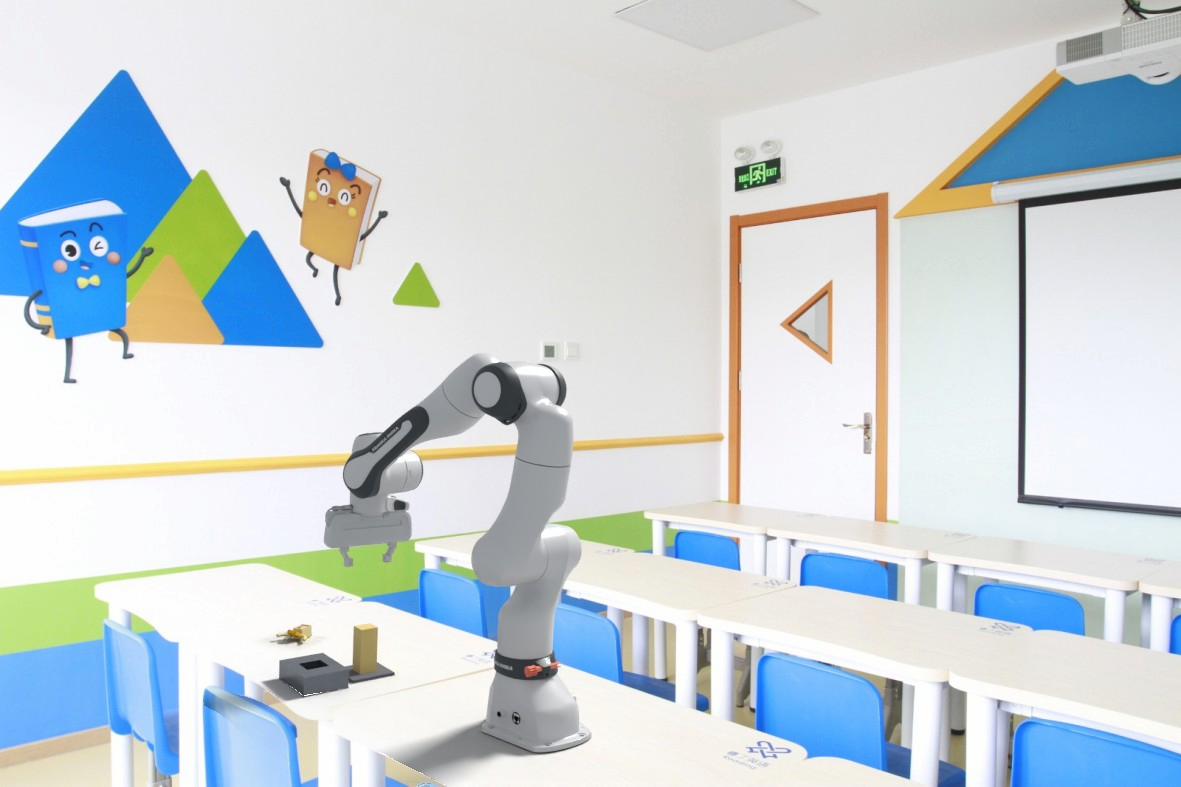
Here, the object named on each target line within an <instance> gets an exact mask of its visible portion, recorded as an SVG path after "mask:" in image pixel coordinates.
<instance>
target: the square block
mask: <svg viewBox="0 0 1181 787" xmlns="http://www.w3.org/2000/svg"><path fill="white" fill-rule="evenodd" d="M378 636H379V627H378V626H376V625H374V624H372V623H370V622H369V623H365V624H356V625H353V636H352V637H353V639H352V665H353V667H352V670H354V671H356V672H357V673H359V674H365V673H370V672H375V671H377V662H378Z"/></svg>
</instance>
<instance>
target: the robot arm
mask: <svg viewBox="0 0 1181 787" xmlns="http://www.w3.org/2000/svg"><path fill="white" fill-rule="evenodd" d="M567 389H568V388H567V383H566V380H565V377H564V375H563V374H562V373H561V372H560V371H559V369H557V368H555V367H553V366H551V365H548V364H544V363H532V362H526V361H507V362H504V361H501V360H499V359H498V358H497V357H496V356H495V355H492V354H490V353H486V352H478V353H475V354H472V355H471V356H469V357H468V358H467V359H465V360H464V361H463V362H461V364H459V365H458V366H456V368H454V369H453V370H452V371H451V373H449V374H448V375H447V377H445V379H444V380H443V381H442V382H441V383H440V384H439V385H438V386H437V387H436V388H435V389H434V390H433V391H432V392H431V393H430V394H428V395H427V396H426V397H425V398H423V400H421V401H420V402H418V403H417V404H415V405H414V406H413V407H411V408H410V409H409V410H407V411H406V412H405V413H403V414H402V415H401V416H400V417H398V418H397V419H396V420H395V421H394V422H393V423H391V425H390V426H388V427H387V429H385V430H384V431H380V432H379V431H377V432H367V433H362V434H359V435H357V436H356V437H355V438H354V440H353V443H352V448H351V454H350V456H348V458H347V460H346V461H345V464H344V467H343V471H342V479H343V482H344V485H345V487H346V488H347V489H348V491H349V504H344V505H332V506H331V507H330V508H329V509H327V510H326V512H325V516H324V518H325V519H324V521H325V522H324V523H325V527H324V535H323V543H324V545H325V547H328V548H330V549H339V550H338V551H339V553H340V555H341V556H342V558H343V567H345V568H348V567H349V568H350V567H353V566H354V558H353V557H350V556H349V554H348V553H349V552H350V547H361V546H363V547H364V546H371V545H373V546H374V545H380V544H382V545H383V544H386V546H387V547H388V548H387V550H386V552H385V553H382V562H383V563H391V562H392V557H393V554H394V553H395V550H396V549H397V546H398V545H397V543H400V542H401V543H402V542H408V541H410V539H411V537H412V535H413V534H412V533H413V525H412V524H413V523H412V516H411V513H410V512H409V510H410V507H411V506H410V501H408V500H405V499H402V498H399V497H397V496H394V495H393V494H399V493H407V492H410V491H414V490H416V489H417V488H418V487H419V485H420V484H421V482H422V481H423V477H424V465H423V462H422V459H421V457H420V456H419V455H418V454H417V452H415V451H414V450H411V449H412V448H413V447H416V446H417V445H419V444H422V443H425V442H429V441H432V440H433V441H434V440H437V439H442V438H447V437H453V436H458V435H461V434H463V433H465V432H466V431H467V430H469V429H471V428H472V427H474V426H475V425H477V423H478V422H479V421H480V420H481V419H482V418H483V417H484V416H485V415H488V416H490V417H492V418H494V419H495V420H497V421H498V422H499V423H501V424H502V425H505V426H509V425H513V424H514V425H515V428H516V429H517V434H518V437H517V445H516V449H515V457H514V463H513V469H512V474H511V478H510V484H509V489H508V491H507V492H508V493H507V495H506V499H505V501H504V503H503V505H502V507H501V510H500V512H499V513H498V515H497V517H496V519H495V521H494V522H493V523H492V525H491V526H490V528H489V529H487V531H486V532H485V533H484V534H483V535H482V536H481V537H480V538H479V539H477V541H476V542H475V543H474V545H473V548H472V551H471V559H470V560H471V562H470V563H471V567H472V570H473V573H474V575H475V577H476V578H477V579H478V580H479V582H481V584H484V585H485V586H487V587H497V588H498V587H500V588H501V587H503V588H504V587H505V588H510V587H514V586H515V587H514V590H513V592H512V594H511V595H510V597H509V598H508V599H507V600H506V601H505V603H504V604H503V605H502V606H501V608H500V610H499V612H498V617H497V642H496V643H497V646H496V649H495V650H494V656H493V663H494V665H493V668H494V670H495V673H494V678H493V680H492V683H491V685H490V687H489V692H488V700H487V708H486V716H485V717H486V718H485V721H484V722H483V723H482V724H481V729H480V731H481V732H482V733H485V734H487V735H488V736H489V735H490V736H493V737H495V738H498V739H500V740H502V741H504V742H507V743H509V744H512V745H514V746H518V747H520V748H522V749H525V750H527V751H530V752H532V753H548V752H549V753H550V752H555V751H556V752H557V751H561V750H564V749H569V748H573V747H575V746H579V745H580V744H583V743H585V742H587V741H588V740H590V739H591V738H592V730H590V728H588V727H587V726H586V725H585V724H583V723H581V722H580V710H579V704H578V702H577V696H576V694H575V693H573V692H572V693H571V692H570V691H569V688H567V686H566V684H565V683H564V682H563V680H562V679H561V677H560V675H559V673H558V672H559V668H561V665H559V664H561V661H557V657H556V653H555V650H554V648H553V646H554V645H553V644H554V630H555V616H556V612H557V611H556V610H557V608H558V607H557V606H558V603H559V599H560V597H561V593H562V591H563V588H564V586H565V583H566V581H567V579H568V578H569V576H570V574H571V573H572V572H573V570H574V569H575V568H576V567H577V566H578V564H579V563H580V561H581V558H582V550H583V549H582V548H583V547H582V542H581V539H580V537H579V535H578V533H577V532H576V530H574V529H573V528H572V527H570V526H568V525H565V524H559V523H558V524H557V523H548V522H549V521H550V520H551V518H552V517H553V515H554V514H555V513H556V512H557V511H559V510H560V509H561V507H562V506H563V504H564V503H565V500H566V495H567V490H568V486H569V485H568V484H569V478H570V471H571V466H572V460H573V452H574V419H573V417H572V414H571V413H570V412H569V411H568V410H567V409H565V408H564V407H562V405H563V404H564V402H565V400H566V398H567ZM391 494H392V495H391Z"/></svg>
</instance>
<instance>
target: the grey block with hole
mask: <svg viewBox="0 0 1181 787" xmlns="http://www.w3.org/2000/svg"><path fill="white" fill-rule="evenodd" d="M278 669H279V670H278V679H279V680H280V681H282V682H284V684H286V685H287V684H288V685H287V686H288V687H290V686H291V687H293V688H294V689H296V690H297V691H298V692H300V693H301V694H302V695H303V696H304V695H307V694H313V693H320V692H325V693H328V692H327V691H330V692H334V690H335V691H339V690H338V689H340V690H344V689H349V685H350V683H349V682H350V681H349V669H348V668H346V667H344V665H343V664H342V663H340V662H338V661H336V660H335V659H334V658H332V657H331V656H329V655H328V654H325V653H324V652H320V653H313V654H309V655H303V656H297V657H291V658H285V659H280V660H279V665H278ZM291 687H290V688H291ZM293 688H292V689H293ZM294 689H293V690H294ZM298 692H297V693H298ZM320 694H321V693H320ZM302 695H301V696H302ZM303 696H302V697H303Z"/></svg>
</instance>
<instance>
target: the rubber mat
mask: <svg viewBox="0 0 1181 787" xmlns="http://www.w3.org/2000/svg"><path fill="white" fill-rule="evenodd" d="M343 666H344V665H343ZM344 667H346V668H348V669H349V682H351V684H357V683H358V684H359V683H362V682H366V681H367V682H368V681H372V680H376V679H380V678H381V679H382V678H387V677H392V676H395V671H393V670H391V668H388V667H386V666H385V665H382V664H381V663H379V662H378V661H377V671H375V672H370V673H365V674H359V673H357V672H356V671H354V670H352V667H353V664H351V665H350V664H349V665H345V666H344Z"/></svg>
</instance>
